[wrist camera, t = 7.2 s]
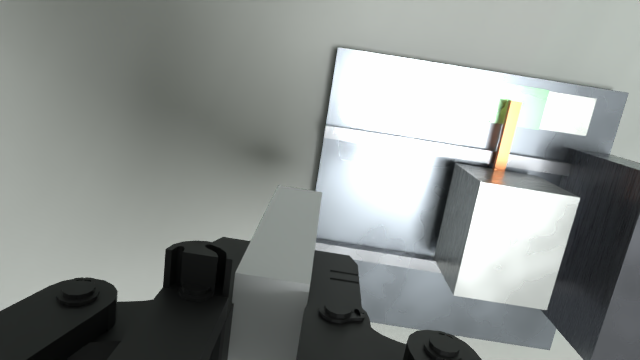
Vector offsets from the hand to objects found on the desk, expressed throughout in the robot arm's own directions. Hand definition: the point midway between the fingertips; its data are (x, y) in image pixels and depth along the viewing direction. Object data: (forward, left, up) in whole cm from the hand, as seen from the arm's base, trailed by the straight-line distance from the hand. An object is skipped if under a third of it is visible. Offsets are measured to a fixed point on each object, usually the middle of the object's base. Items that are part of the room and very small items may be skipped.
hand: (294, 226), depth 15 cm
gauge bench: (+1, +7, -9) cm, 12 cm away
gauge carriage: (-1, +9, -7) cm, 11 cm away
